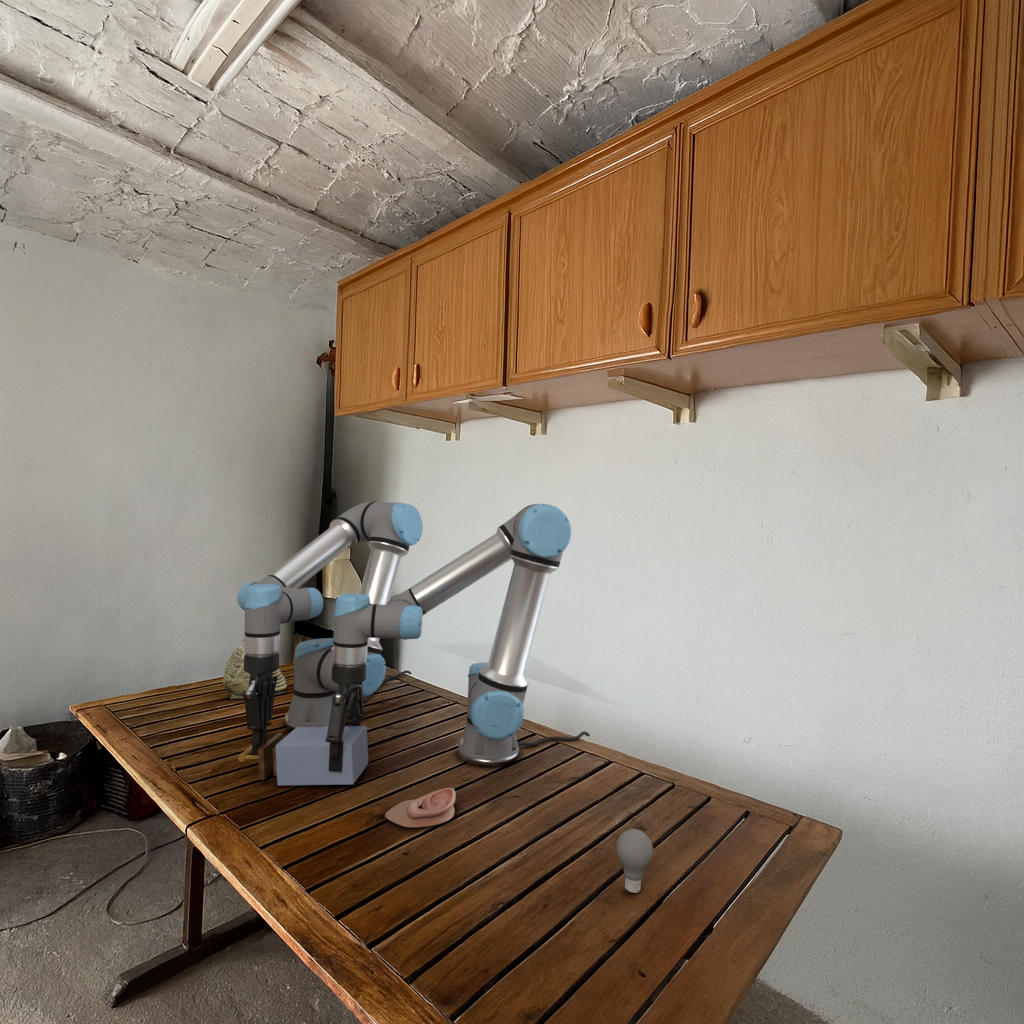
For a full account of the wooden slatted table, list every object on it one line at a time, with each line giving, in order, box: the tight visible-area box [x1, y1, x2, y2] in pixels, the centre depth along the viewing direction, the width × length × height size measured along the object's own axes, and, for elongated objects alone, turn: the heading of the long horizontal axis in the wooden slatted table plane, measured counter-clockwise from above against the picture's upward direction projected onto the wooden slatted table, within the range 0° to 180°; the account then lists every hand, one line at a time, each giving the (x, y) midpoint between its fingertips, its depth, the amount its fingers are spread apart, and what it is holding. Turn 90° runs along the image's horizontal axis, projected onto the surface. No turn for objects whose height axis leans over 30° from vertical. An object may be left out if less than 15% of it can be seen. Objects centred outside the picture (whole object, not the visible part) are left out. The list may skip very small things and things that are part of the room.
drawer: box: [237, 732, 284, 781], centre depth 143 cm, size 21×10×7 cm, turn 86°
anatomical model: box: [384, 787, 457, 828], centre depth 128 cm, size 13×4×12 cm
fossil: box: [222, 646, 288, 699], centre depth 198 cm, size 9×18×15 cm, turn 132°
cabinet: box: [276, 725, 369, 787], centre depth 143 cm, size 17×11×9 cm, turn 86°
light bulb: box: [615, 828, 654, 894], centre depth 106 cm, size 6×6×10 cm
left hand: (259, 756), depth 144 cm, fingers closed
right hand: (344, 759), depth 143 cm, fingers closed on cabinet, 11 cm apart
